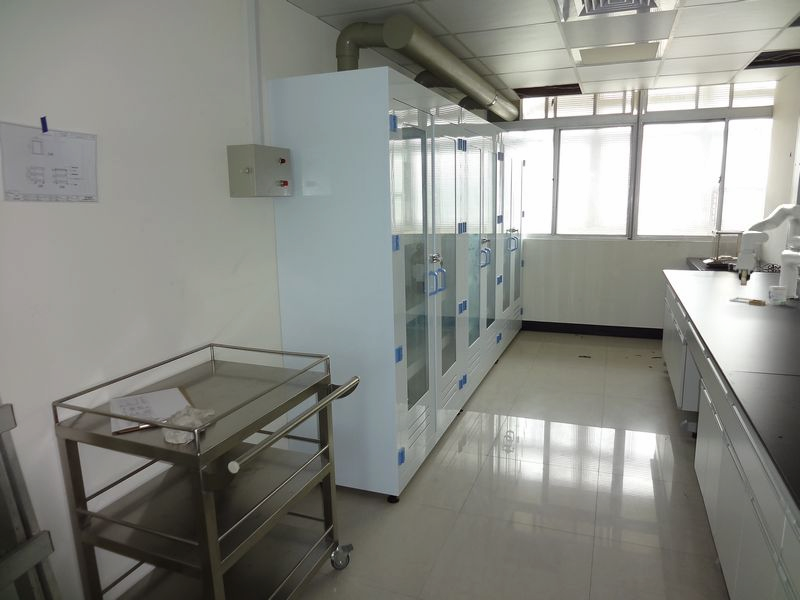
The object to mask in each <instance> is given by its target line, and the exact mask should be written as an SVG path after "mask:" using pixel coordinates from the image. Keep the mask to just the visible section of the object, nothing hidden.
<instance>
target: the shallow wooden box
mask: <svg viewBox="0 0 800 600" xmlns="http://www.w3.org/2000/svg"><path fill="white" fill-rule="evenodd" d="M751 299H752V300H750V301H749V303H748V305H751V306H760V307H762V306H764V305H766V303H767V301H766V300H763V299H761V300H760V299H755V298H751ZM754 299H755V300H754Z"/></svg>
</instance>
